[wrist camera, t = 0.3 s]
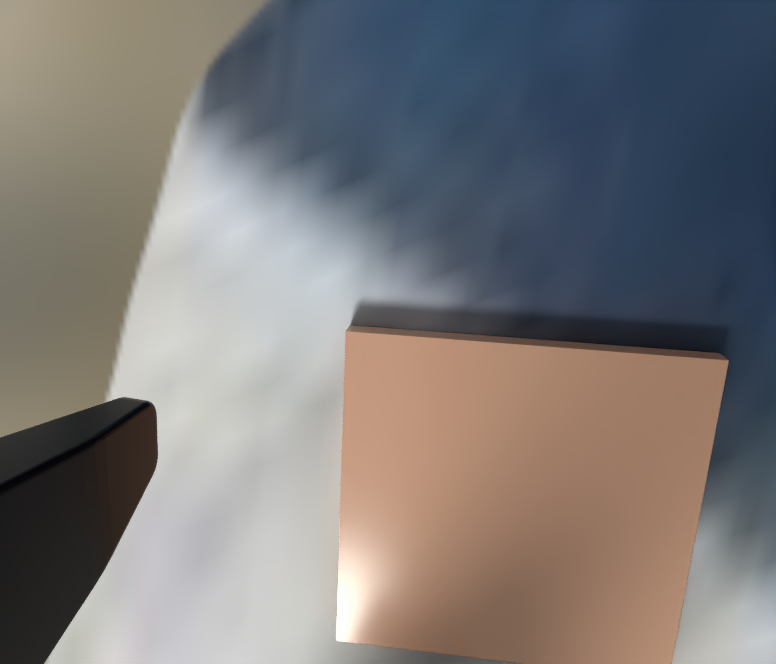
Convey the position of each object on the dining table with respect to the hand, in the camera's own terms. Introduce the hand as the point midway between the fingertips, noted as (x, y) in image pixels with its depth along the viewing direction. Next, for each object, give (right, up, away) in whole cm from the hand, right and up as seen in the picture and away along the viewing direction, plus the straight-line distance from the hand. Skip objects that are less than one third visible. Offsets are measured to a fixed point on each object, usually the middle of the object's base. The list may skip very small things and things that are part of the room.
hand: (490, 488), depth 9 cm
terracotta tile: (+3, -4, +15) cm, 16 cm away
